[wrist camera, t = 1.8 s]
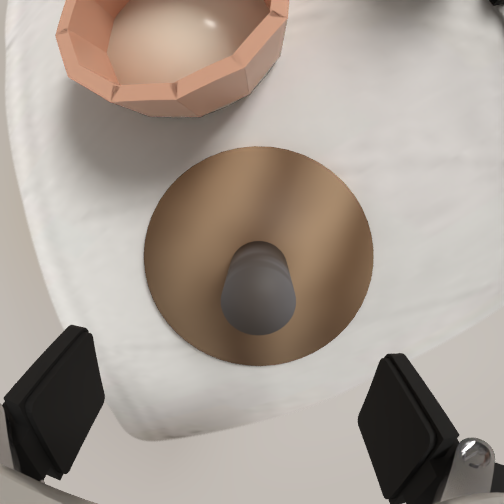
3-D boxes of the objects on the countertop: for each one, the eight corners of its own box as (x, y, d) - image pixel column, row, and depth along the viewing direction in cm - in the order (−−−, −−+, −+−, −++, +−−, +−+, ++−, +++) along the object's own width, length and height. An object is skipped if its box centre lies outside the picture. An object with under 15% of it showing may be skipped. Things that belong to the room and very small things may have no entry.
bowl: (287, -29, 14) (295, -79, 9) (273, 123, 18) (279, 105, 12) (123, -22, 14) (91, -60, 8) (93, 120, 18) (40, 110, 12)
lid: (384, 165, 18) (429, 168, 13) (343, 362, 23) (363, 414, 17) (153, 140, 18) (113, 134, 13) (152, 345, 23) (126, 394, 17)
